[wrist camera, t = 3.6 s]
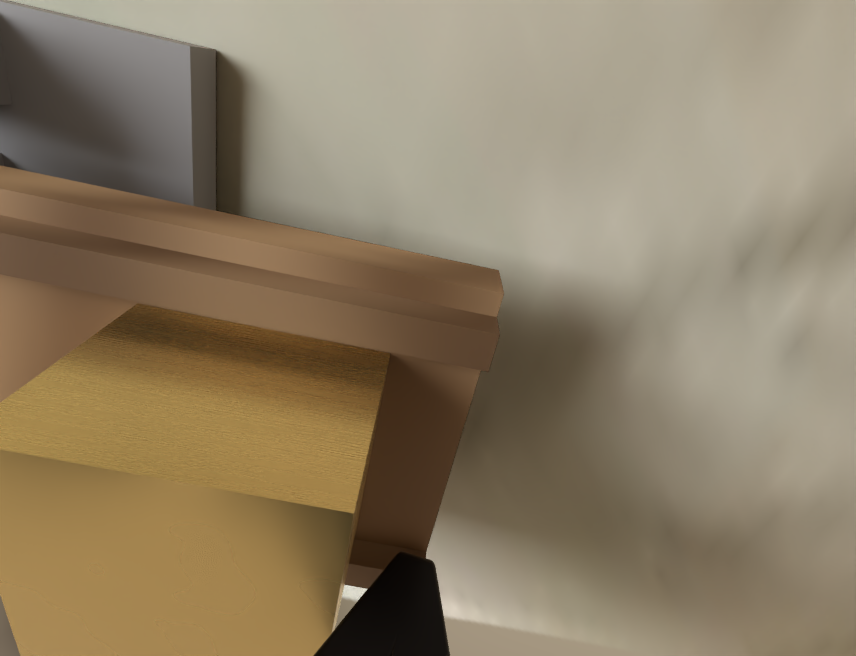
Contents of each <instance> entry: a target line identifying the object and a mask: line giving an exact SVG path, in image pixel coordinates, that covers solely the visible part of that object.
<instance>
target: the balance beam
mask: <svg viewBox="0 0 856 656" xmlns="http://www.w3.org/2000/svg"><path fill="white" fill-rule="evenodd" d="M503 295H504V291H503V287H502V282H501V278H500V273H499V270H495V269H490V268H485V267H480V266H476V265H471V264H466V263H461V262H457V261H452V260H447V259H442V258H438V257H433V256H428V255H423V254H419V253H414V252H409V251H404V250H400V249H395V248H390V247H385V246H381V245H376V244H371V243H366V242H362V241H357V240H352V239H347V238H343V237H338V236H333V235H328V234H324V233H319V232H314V231H309V230H305V229H300V228H295V227H290V226H286V225H281V224H276V223H271V222H267V221H262V220H257V219H253V218H248V217H243V216H238V215H234V214H229V213H224V212H219V211H215V210H210V209H205V208H200V207H196V206H191V205H186V204H181V203H177V202H172V201H167V200H162V199H158V198H153V197H148V196H143V195H139V194H134V193H129V192H124V191H120V190H115V189H110V188H105V187H101V186H96V185H91V184H86V183H82V182H77V181H72V180H67V179H63V178H58V177H53V176H48V175H44V174H39V173H34V172H29V171H25V170H20V169H15V168H10V167H6V166H1V165H0V403H1V402H2V401H3V400H5V399H6V398H7V397H9V396H10V395H12V394H13V393H14V392H16V391H17V390H19V389H20V388H21V387H23V386H24V385H25V384H27V383H28V382H30V381H31V380H32V379H34V378H35V377H36V376H38V375H39V374H41V373H42V372H43V371H45V370H46V369H48V368H49V367H50V366H52V365H53V364H54V363H56V362H57V361H59V360H60V359H61V358H63V357H64V356H65V355H67V354H68V353H70V352H71V351H72V350H74V349H75V348H76V347H78V346H79V345H81V344H82V343H83V342H85V341H86V340H88V339H89V338H90V337H92V336H93V335H94V334H96V333H97V332H99V331H100V330H101V329H103V328H104V327H105V326H107V325H108V324H110V323H111V322H112V321H114V320H115V319H117V318H118V317H119V316H121V315H122V314H123V313H125V312H126V311H128V310H129V309H130V308H132V307H133V306H134V305H136V304H137V303H138V304H143V305H148V306H153V307H158V308H163V309H168V310H173V311H178V312H183V313H188V314H193V315H198V316H203V317H208V318H214V319H219V320H224V321H229V322H234V323H239V324H244V325H249V326H254V327H259V328H264V329H269V330H274V331H279V332H284V333H289V334H294V335H299V336H304V337H309V338H314V339H319V340H324V341H329V342H335V343H340V344H345V345H350V346H355V347H360V348H365V349H370V350H375V351H380V352H385V353H390V358H389V363H388V368H387V374H386V379H385V384H384V389H383V394H382V399H381V405H380V410H379V415H378V420H377V425H376V430H375V436H374V441H373V446H372V451H371V456H370V461H369V467H368V472H367V477H366V482H365V487H364V492H363V498H362V503H361V508H360V513H359V518H358V524H357V528H356V533H355V538H354V542H353V547H352V551H351V556H350V561H349V565H348V570H347V575H346V579H345V584H344V585H350V586H355V587H361V588H367V589H368V588H369V587H370V586H371V585H372V583H373V582H374V581H375V580H376V578H377V577H378V576H379V575H380V574H381V572H382V571H383V570H384V569H385V567H386V566H387V565H388V564H389V563H390V561H391V560H392V559H393V558H394V556H395V555H396V554H397V553H398V552H400V551H404V552H407V553H410V554H413V555H416V556H419V557H423V558H426V550H427V547H428V544H429V541H430V537H431V534H432V531H433V527H434V524H435V521H436V517H437V514H438V511H439V507H440V504H441V501H442V497H443V494H444V491H445V488H446V484H447V481H448V478H449V474H450V471H451V468H452V464H453V461H454V458H455V454H456V451H457V448H458V444H459V441H460V438H461V434H462V431H463V428H464V425H465V421H466V418H467V415H468V411H469V408H470V405H471V401H472V398H473V395H474V391H475V388H476V385H477V381H478V378H479V375H480V372H481V371H486V372H488V371H489V368H490V365H491V362H492V359H493V355H494V352H495V349H496V346H497V342H498V339H499V336H500V332H499V326H498V321H497V315H498V312H499V309H500V305H501V302H502V299H503Z"/></svg>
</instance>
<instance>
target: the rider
mask: <svg viewBox="0 0 856 656" xmlns="http://www.w3.org/2000/svg"><path fill="white" fill-rule="evenodd" d="M389 358H390V353H385V352H380V351H375V350H370V349H365V348H360V347H355V346H350V345H345V344H340V343H335V342H329V341H324V340H319V339H314V338H309V337H304V336H299V335H294V334H289V333H284V332H279V331H274V330H269V329H264V328H259V327H254V326H249V325H244V324H239V323H234V322H229V321H224V320H219V319H214V318H208V317H203V316H198V315H193V314H188V313H183V312H178V311H173V310H168V309H163V308H158V307H153V306H148V305H143V304H138V303H137V304H136V305H134V306H133V307H132V308H130V309H129V310H128V311H126V312H125V313H123V314H122V315H121V316H119V317H118V318H117V319H115V320H114V321H112V322H111V323H110V324H108V325H107V326H105V327H104V328H103V329H101V330H100V331H99V332H97V333H96V334H94V335H93V336H92V337H90V338H89V339H88V340H86V341H85V342H83V343H82V344H81V345H79V346H78V347H76V348H75V349H74V350H72V351H71V352H70V353H68V354H67V355H65V356H64V357H63V358H61V359H60V360H59V361H57V362H56V363H54V364H53V365H52V366H50V367H49V368H48V369H46V370H45V371H43V372H42V373H41V374H39V375H38V376H36V377H35V378H34V379H32V380H31V381H30V382H28V383H27V384H25V385H24V386H23V387H21V388H20V389H19V390H17V391H16V392H14V393H13V394H12V395H10V396H9V397H7V398H6V399H5V400H3V401H2V402H1V403H0V596H1V599H2V601H3V605H4V607H5V611H6V614H7V617H8V620H9V623H10V626H11V629H12V632H13V635H14V638H15V640H16V644H17V646H18V650H19V653H20V656H313V655H314V654H315V653H316V652H317V650H318V649H319V648H320V647H321V646H322V644H323V643H324V642H325V641H326V639H327V638H328V637H329V636H330V635H331V633H332V632H333V631H334V630H335V626H336V621H337V617H338V612H339V607H340V603H341V598H342V593H343V589H344V584H345V579H346V575H347V570H348V565H349V561H350V556H351V551H352V547H353V542H354V538H355V533H356V528H357V524H358V518H359V513H360V508H361V503H362V498H363V492H364V487H365V482H366V477H367V472H368V467H369V461H370V456H371V451H372V446H373V441H374V436H375V430H376V425H377V420H378V415H379V410H380V405H381V399H382V394H383V389H384V384H385V379H386V374H387V368H388V363H389Z"/></svg>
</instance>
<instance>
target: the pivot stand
mask: <svg viewBox="0 0 856 656" xmlns="http://www.w3.org/2000/svg"><path fill="white" fill-rule="evenodd" d="M0 165H1V166H6V167H10V168H15V169H20V170H25V171H29V172H34V173H39V174H44V175H48V176H53V177H58V178H63V179H67V180H72V181H77V182H82V183H86V184H91V185H96V186H101V187H105V188H110V189H115V190H120V191H124V192H129V193H134V194H139V195H143V196H148V197H153V198H158V199H162V200H167V201H172V202H177V203H181V204H186V205H191V206H196V207H200V208H205V209H210V210H215V211H216V50H215V49H211V48H207V47H203V46H198V45H194V44H190V43H186V42H181V41H177V40H173V39H169V38H164V37H160V36H156V35H152V34H147V33H143V32H139V31H135V30H130V29H126V28H122V27H118V26H113V25H109V24H105V23H101V22H96V21H92V20H88V19H84V18H79V17H75V16H71V15H67V14H62V13H58V12H54V11H50V10H45V9H41V8H37V7H33V6H28V5H24V4H20V3H16V2H12V1H7V0H0Z"/></svg>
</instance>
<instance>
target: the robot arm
mask: <svg viewBox="0 0 856 656" xmlns="http://www.w3.org/2000/svg"><path fill="white" fill-rule="evenodd" d="M313 656H450V652H449V646H448V640H447V634H446V628H445V622H444V616H443V610H442V604H441V598H440V592H439V586H438V580H437V573H436V568H435V564H434V562H433V561H432V560H429V559H426V558H423V557H419V556H416V555H413V554H410V553H407V552H404V551H400V552H398V553H397V554H396V555H395V556H394V558H393V559H392V560H391V561H390V563H389V564H388V565H387V566H386V567H385V569H384V570H383V571H382V572H381V574H380V575H379V576H378V577H377V578H376V580H375V581H374V582H373V583H372V585H371V586H370V587H369V588H368V589H367V591H366V592H365V593H364V594H363V596H362V597H361V598H360V599H359V600H358V602H357V603H356V604H355V605H354V607H353V608H352V609H351V610H350V611H349V613H348V614H347V615H346V616H345V618H344V619H343V620H342V621H341V622H340V624H339V625H338V626H337V628H335V630H334V631H333V632H332V633H331V635H330V636H329V637H328V638H327V639H326V641H325V642H324V643H323V644H322V646H321V647H320V648H319V649H318V650H317V652H316V653H315V654H314V655H313Z"/></svg>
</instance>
